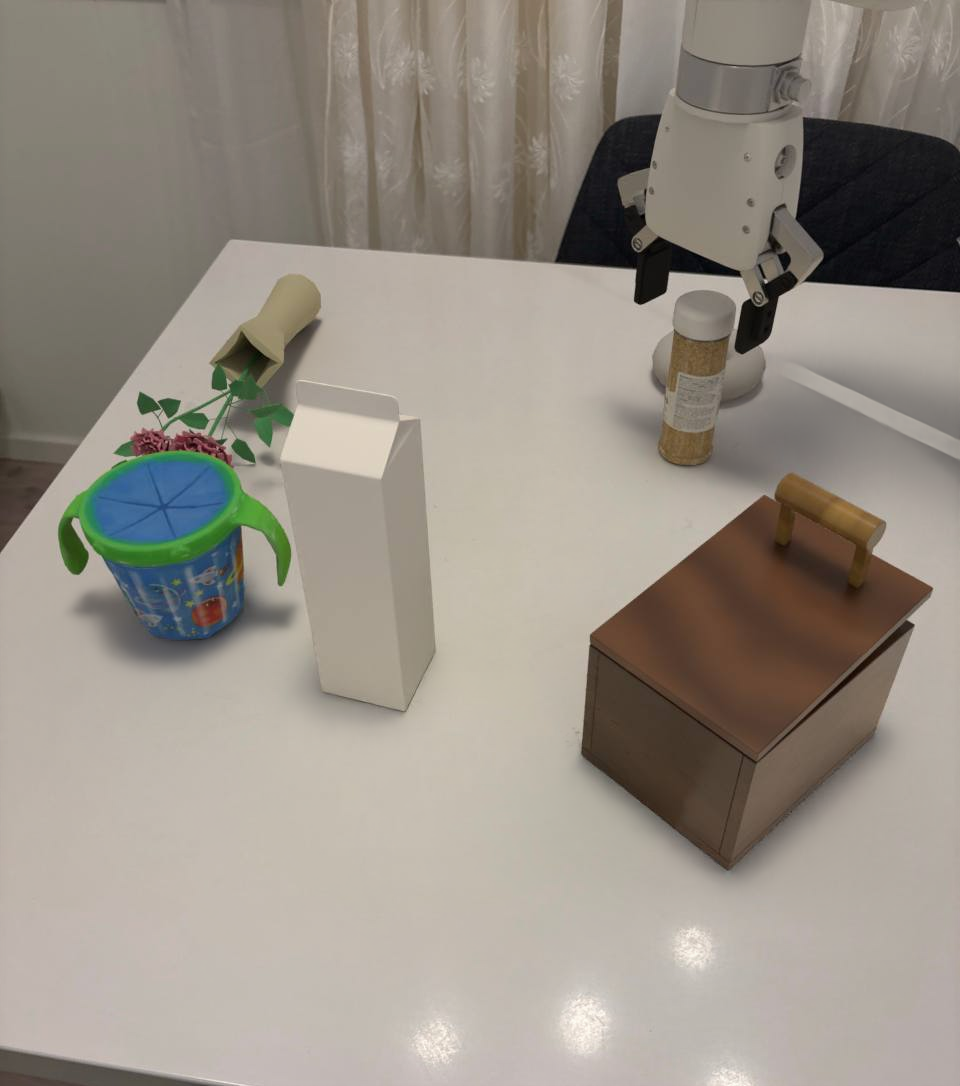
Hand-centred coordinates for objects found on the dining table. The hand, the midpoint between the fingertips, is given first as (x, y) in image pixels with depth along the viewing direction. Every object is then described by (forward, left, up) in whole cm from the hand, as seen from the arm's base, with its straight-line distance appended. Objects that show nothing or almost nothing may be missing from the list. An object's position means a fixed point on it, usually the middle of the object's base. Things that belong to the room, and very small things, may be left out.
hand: (698, 321), depth 81 cm
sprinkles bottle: (0, 0, -12) cm, 12 cm away
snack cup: (+40, -12, -12) cm, 43 cm away
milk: (+34, +2, -12) cm, 36 cm away
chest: (+22, +22, -12) cm, 33 cm away
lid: (+21, +22, -1) cm, 31 cm away
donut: (-10, -6, -12) cm, 17 cm away
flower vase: (+23, -28, -12) cm, 39 cm away
